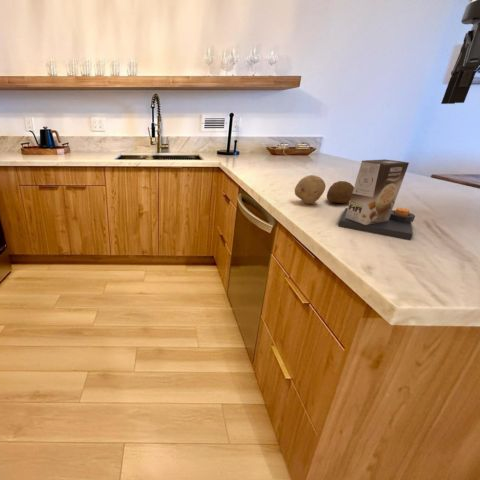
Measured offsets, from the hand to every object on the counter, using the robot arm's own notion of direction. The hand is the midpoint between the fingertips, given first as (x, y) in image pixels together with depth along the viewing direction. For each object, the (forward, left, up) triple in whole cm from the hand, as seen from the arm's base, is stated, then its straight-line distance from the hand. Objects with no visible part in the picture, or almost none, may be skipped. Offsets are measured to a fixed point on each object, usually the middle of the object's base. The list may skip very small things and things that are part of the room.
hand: (451, 103), depth 73 cm
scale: (+8, +13, -32) cm, 35 cm away
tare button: (+3, +8, -28) cm, 30 cm away
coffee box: (+10, +15, -30) cm, 35 cm away
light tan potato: (+28, +2, -32) cm, 42 cm away
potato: (+19, -6, -32) cm, 37 cm away
